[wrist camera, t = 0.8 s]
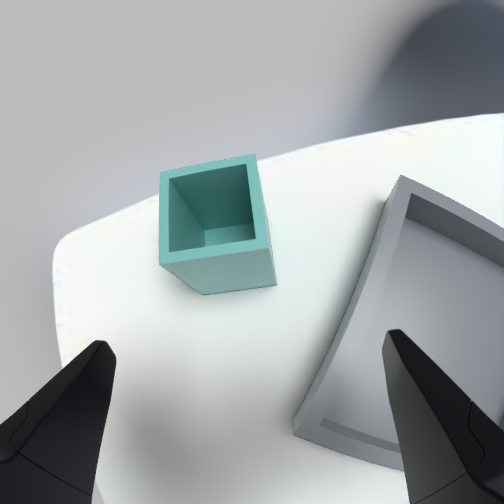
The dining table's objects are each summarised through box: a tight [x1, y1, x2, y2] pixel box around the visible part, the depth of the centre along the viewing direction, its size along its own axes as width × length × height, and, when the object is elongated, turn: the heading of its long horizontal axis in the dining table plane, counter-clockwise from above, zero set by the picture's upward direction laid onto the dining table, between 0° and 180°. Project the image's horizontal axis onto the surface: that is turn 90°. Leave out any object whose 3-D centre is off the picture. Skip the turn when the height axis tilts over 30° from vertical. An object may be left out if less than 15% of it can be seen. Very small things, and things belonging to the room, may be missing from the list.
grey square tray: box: [293, 175, 504, 471], centre depth 18 cm, size 20×20×4 cm
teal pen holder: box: [159, 154, 277, 295], centre depth 21 cm, size 6×6×9 cm
